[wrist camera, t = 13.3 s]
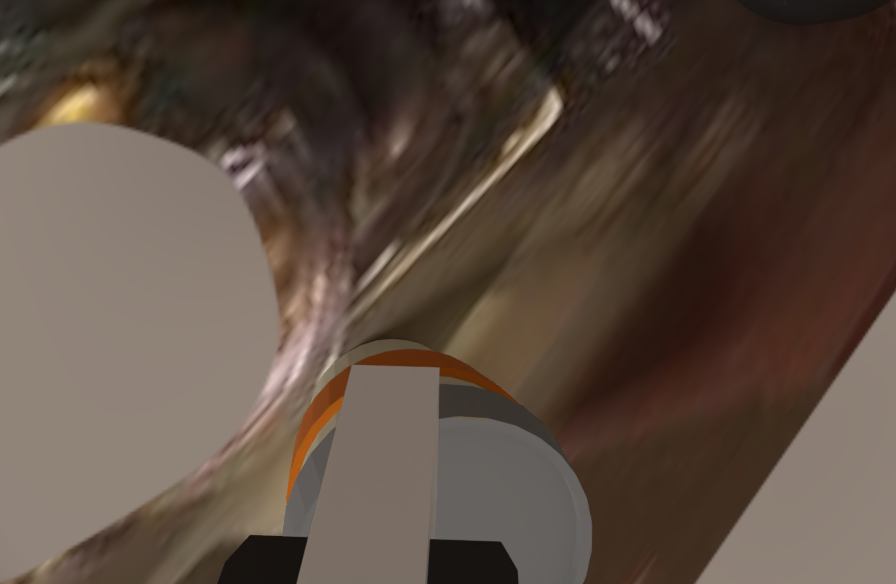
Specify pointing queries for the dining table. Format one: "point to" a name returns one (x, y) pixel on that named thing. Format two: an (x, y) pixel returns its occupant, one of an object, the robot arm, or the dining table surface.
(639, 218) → the dining table surface
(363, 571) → the robot arm
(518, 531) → the reusable coffee cup
